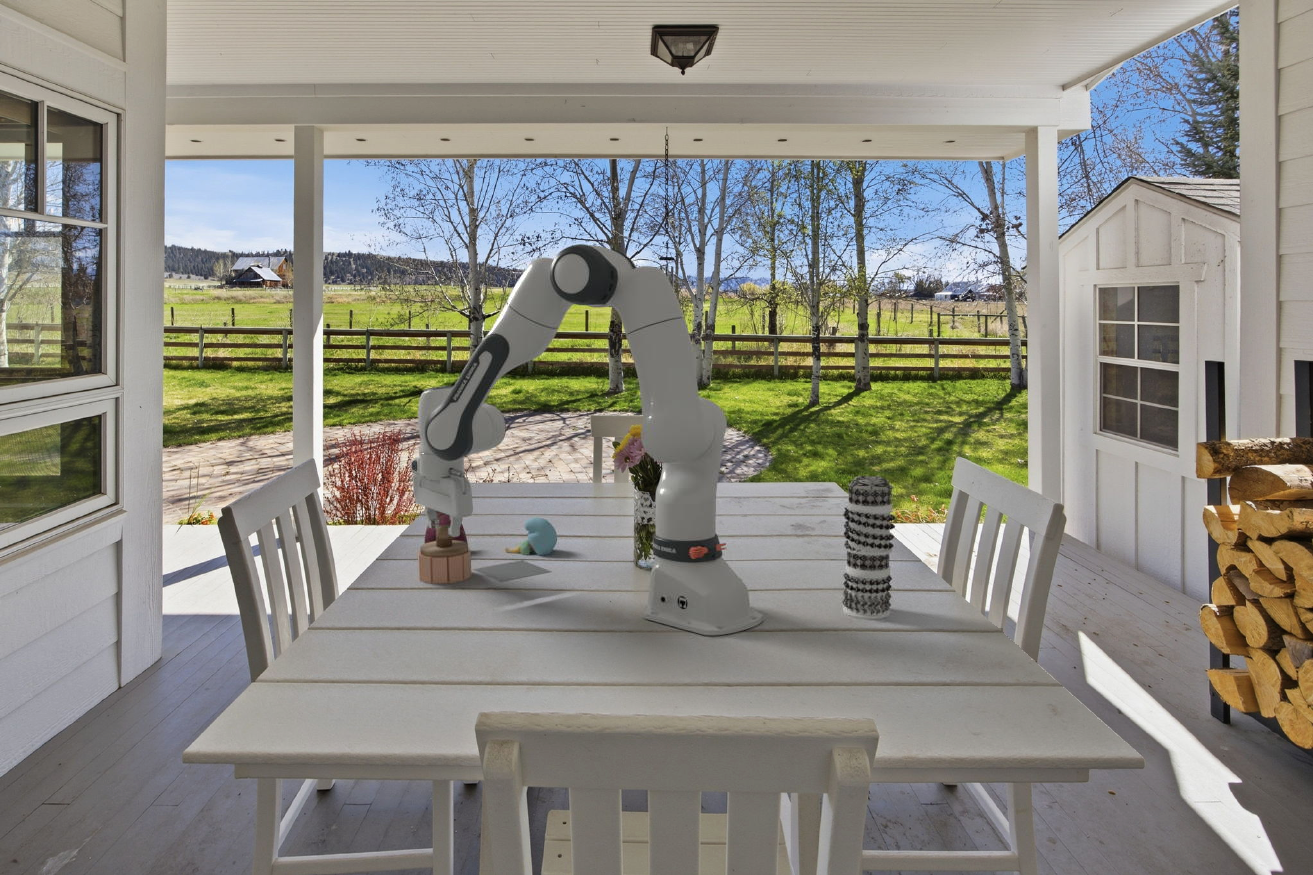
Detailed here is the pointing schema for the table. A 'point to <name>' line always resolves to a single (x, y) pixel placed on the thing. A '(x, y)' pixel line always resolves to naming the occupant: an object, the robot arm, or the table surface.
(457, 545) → the lid
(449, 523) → the vegetable
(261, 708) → the table surface
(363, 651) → the table surface
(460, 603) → the table surface
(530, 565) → the mat
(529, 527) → the toy flower bud
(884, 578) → the decorative candle
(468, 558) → the faceted hollow tube
